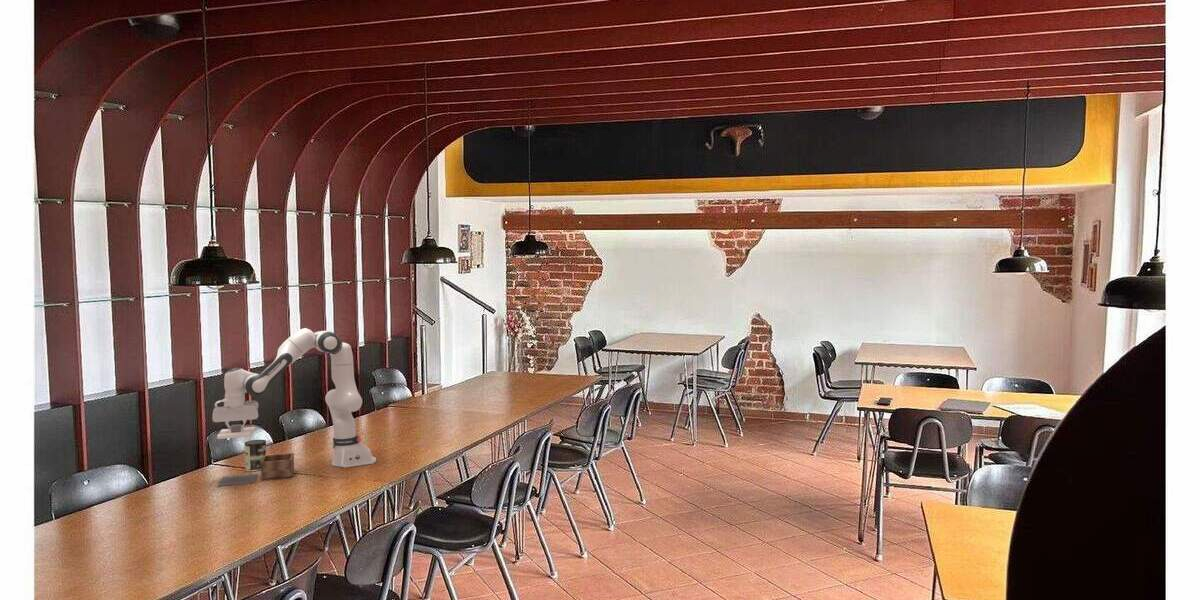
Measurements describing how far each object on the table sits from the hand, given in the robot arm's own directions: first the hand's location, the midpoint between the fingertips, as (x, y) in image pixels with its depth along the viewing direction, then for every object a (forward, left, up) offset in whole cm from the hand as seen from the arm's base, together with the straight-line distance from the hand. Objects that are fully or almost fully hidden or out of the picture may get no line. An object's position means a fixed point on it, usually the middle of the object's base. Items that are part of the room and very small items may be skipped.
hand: (236, 429), depth 377 cm
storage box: (-18, -2, -25) cm, 31 cm away
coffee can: (-6, -20, -25) cm, 33 cm away
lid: (0, 0, -2) cm, 2 cm away
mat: (0, 0, -25) cm, 25 cm away
